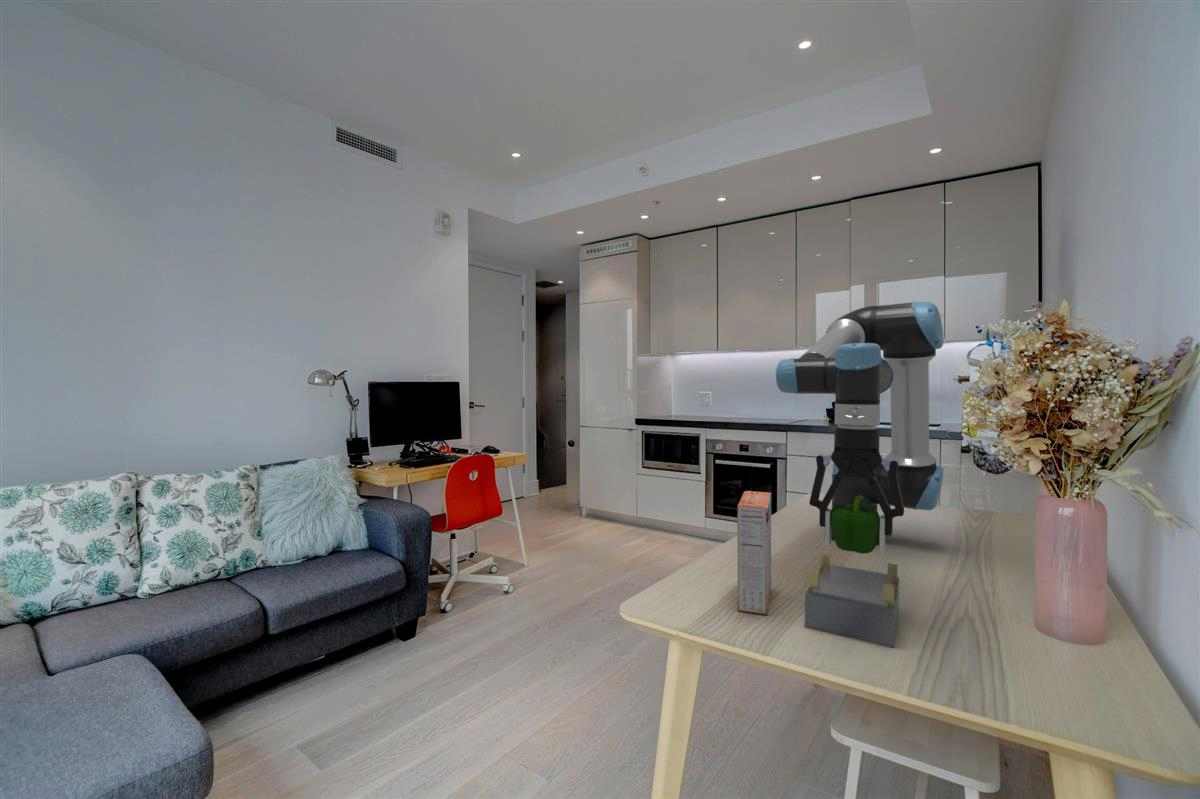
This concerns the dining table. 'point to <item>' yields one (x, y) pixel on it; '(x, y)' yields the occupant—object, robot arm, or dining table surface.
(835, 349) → the robot arm
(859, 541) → the bell pepper
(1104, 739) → the dining table surface
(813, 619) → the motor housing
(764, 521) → the cracker box
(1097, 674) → the dining table surface
